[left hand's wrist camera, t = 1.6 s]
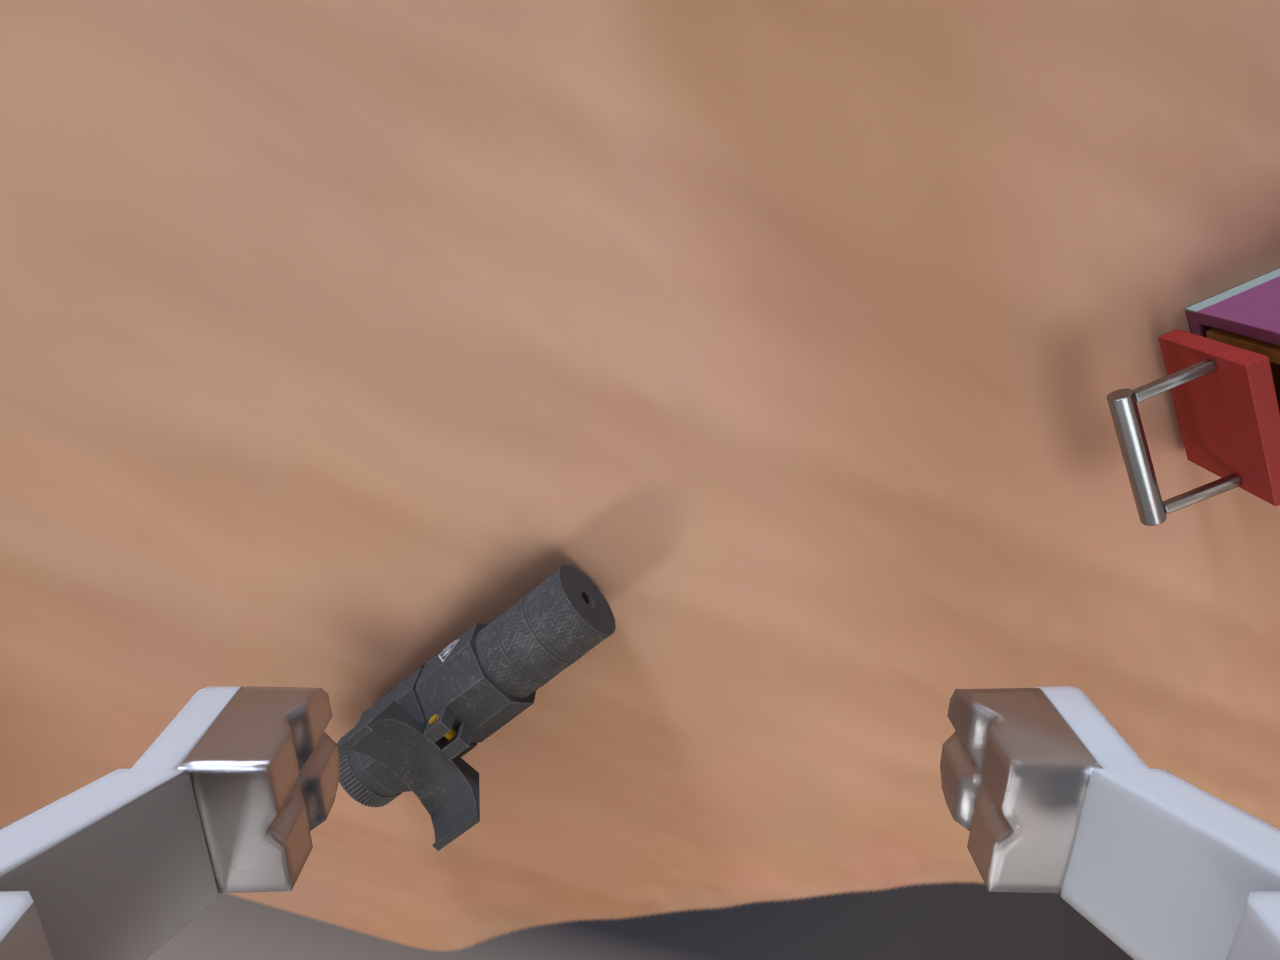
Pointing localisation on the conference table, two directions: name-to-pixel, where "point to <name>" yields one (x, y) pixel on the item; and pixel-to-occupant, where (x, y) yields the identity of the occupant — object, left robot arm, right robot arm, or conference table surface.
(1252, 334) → the cabinet
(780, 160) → the conference table surface
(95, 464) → the conference table surface
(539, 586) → the laser sight
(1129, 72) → the conference table surface
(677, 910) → the conference table surface
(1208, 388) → the drawer
